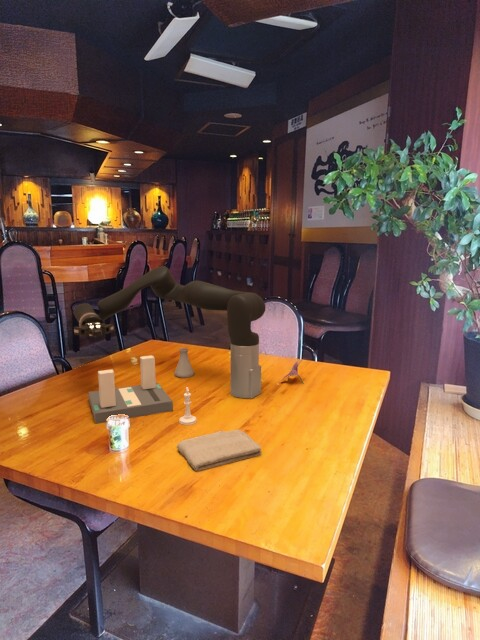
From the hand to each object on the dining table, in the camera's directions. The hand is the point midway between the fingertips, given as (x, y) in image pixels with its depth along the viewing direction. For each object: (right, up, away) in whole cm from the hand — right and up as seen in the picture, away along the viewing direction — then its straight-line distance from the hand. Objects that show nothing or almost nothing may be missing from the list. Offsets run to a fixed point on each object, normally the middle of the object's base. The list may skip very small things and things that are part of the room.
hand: (97, 334), depth 133 cm
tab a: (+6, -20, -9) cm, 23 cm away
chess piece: (+29, -24, -12) cm, 40 cm away
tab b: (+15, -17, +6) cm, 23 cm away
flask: (+23, -16, +28) cm, 40 cm away
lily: (+63, -18, +21) cm, 69 cm away
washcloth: (+39, -28, -29) cm, 56 cm away
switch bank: (+10, -22, -1) cm, 24 cm away
